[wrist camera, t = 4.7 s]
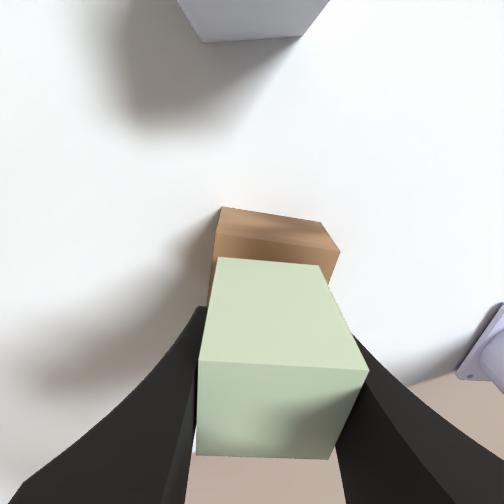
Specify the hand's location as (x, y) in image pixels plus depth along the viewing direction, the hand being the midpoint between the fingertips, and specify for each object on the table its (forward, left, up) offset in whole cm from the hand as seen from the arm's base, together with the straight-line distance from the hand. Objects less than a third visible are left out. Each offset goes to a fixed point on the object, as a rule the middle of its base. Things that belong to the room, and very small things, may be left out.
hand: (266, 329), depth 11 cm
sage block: (0, 0, -2) cm, 2 cm away
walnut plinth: (0, 0, -7) cm, 7 cm away
